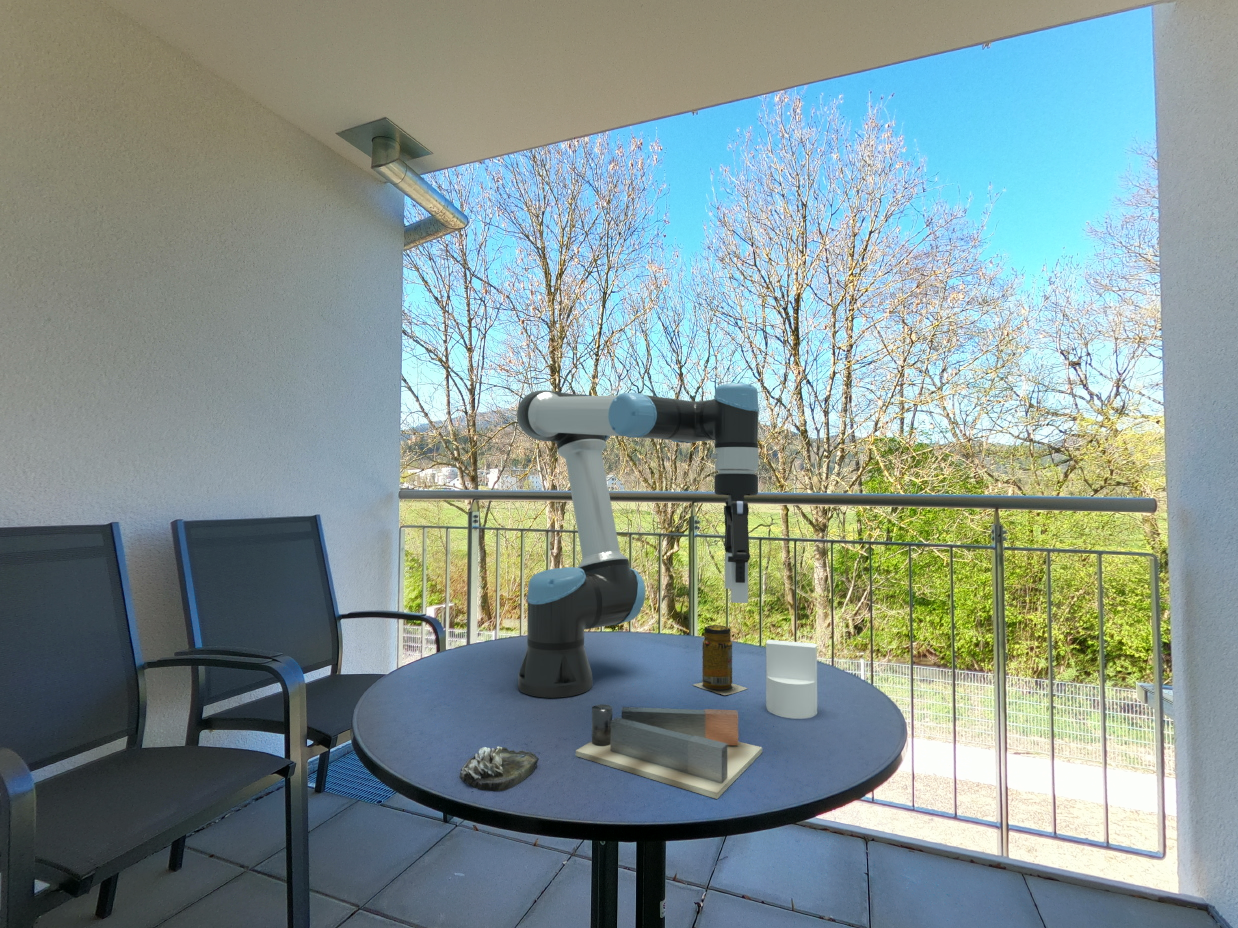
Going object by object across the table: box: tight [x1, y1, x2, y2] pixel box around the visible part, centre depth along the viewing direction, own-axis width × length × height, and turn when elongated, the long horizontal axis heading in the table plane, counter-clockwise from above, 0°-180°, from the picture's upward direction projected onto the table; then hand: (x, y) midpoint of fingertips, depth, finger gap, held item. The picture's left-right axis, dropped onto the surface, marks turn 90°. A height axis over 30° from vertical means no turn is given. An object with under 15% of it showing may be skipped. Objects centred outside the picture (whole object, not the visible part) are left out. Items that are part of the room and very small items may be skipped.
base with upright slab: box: [765, 639, 818, 720], centre depth 112 cm, size 9×9×12 cm
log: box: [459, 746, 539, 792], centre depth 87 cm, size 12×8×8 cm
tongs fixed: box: [591, 703, 727, 784], centre depth 89 cm, size 23×4×5 cm, turn 57°
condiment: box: [693, 624, 748, 696], centre depth 124 cm, size 7×8×12 cm
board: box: [575, 740, 763, 800], centre depth 92 cm, size 23×17×1 cm
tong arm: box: [620, 706, 739, 745], centre depth 95 cm, size 18×2×5 cm, turn 85°
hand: (735, 595), depth 106 cm, fingers open, 13 cm apart
